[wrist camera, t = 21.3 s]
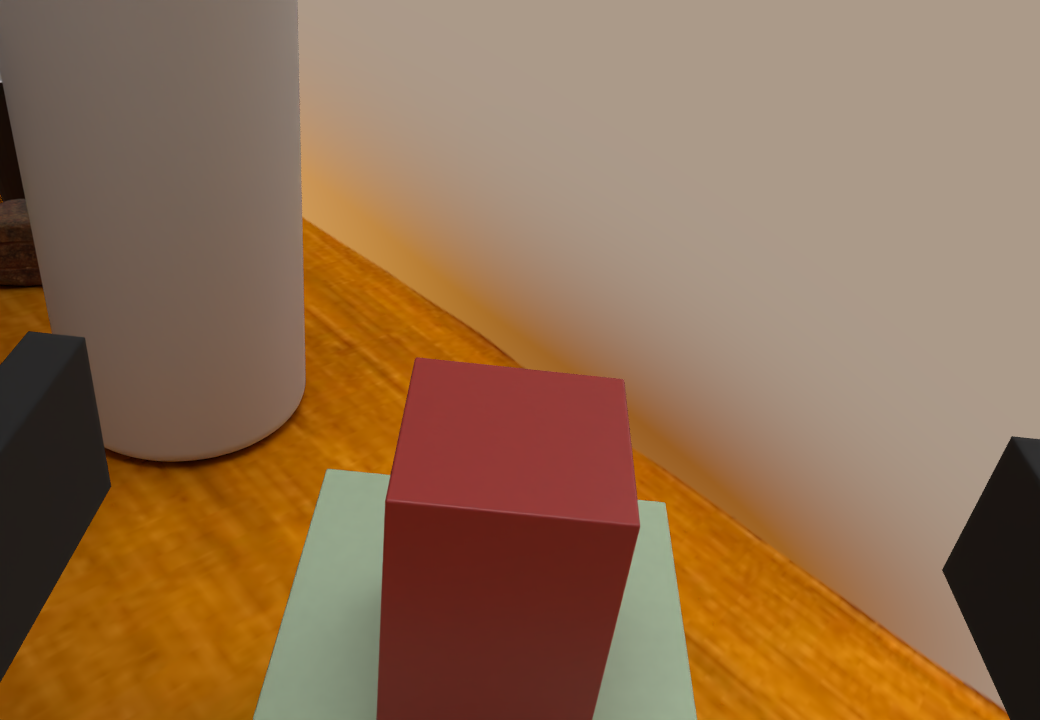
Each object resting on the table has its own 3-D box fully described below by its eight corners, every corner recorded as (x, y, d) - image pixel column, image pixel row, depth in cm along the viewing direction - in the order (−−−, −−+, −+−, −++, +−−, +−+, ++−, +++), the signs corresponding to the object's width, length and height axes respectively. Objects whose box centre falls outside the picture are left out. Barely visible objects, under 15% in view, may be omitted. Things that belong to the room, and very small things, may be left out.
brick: (163, 250, 66) (155, 187, 63) (165, 278, 63) (158, 214, 60) (-9, 261, 62) (-24, 195, 60) (-15, 291, 59) (-32, 223, 57)
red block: (402, 576, 32) (415, 356, 27) (579, 593, 32) (624, 378, 27) (375, 734, 27) (384, 500, 22) (584, 753, 27) (641, 526, 22)
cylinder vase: (19, 396, 51) (-98, -113, 38) (208, 311, 60) (170, -126, 46) (167, 505, 46) (94, -44, 32) (351, 394, 55) (357, -74, 41)
